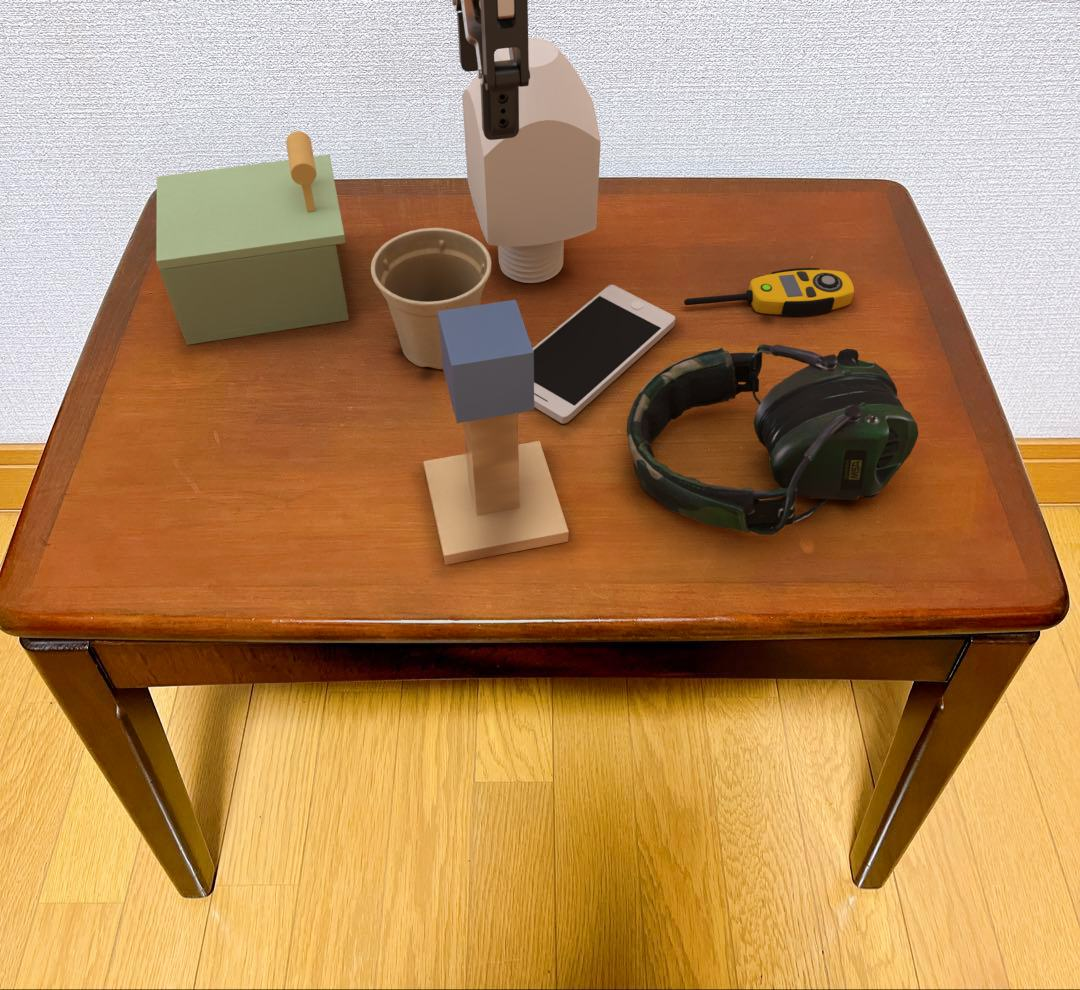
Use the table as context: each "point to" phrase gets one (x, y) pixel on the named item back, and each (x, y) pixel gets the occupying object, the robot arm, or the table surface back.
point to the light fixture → (536, 167)
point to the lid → (248, 209)
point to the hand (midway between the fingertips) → (488, 101)
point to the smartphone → (594, 350)
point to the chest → (257, 294)
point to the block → (487, 360)
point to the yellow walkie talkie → (793, 292)
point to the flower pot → (429, 284)
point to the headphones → (778, 434)
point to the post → (494, 494)
